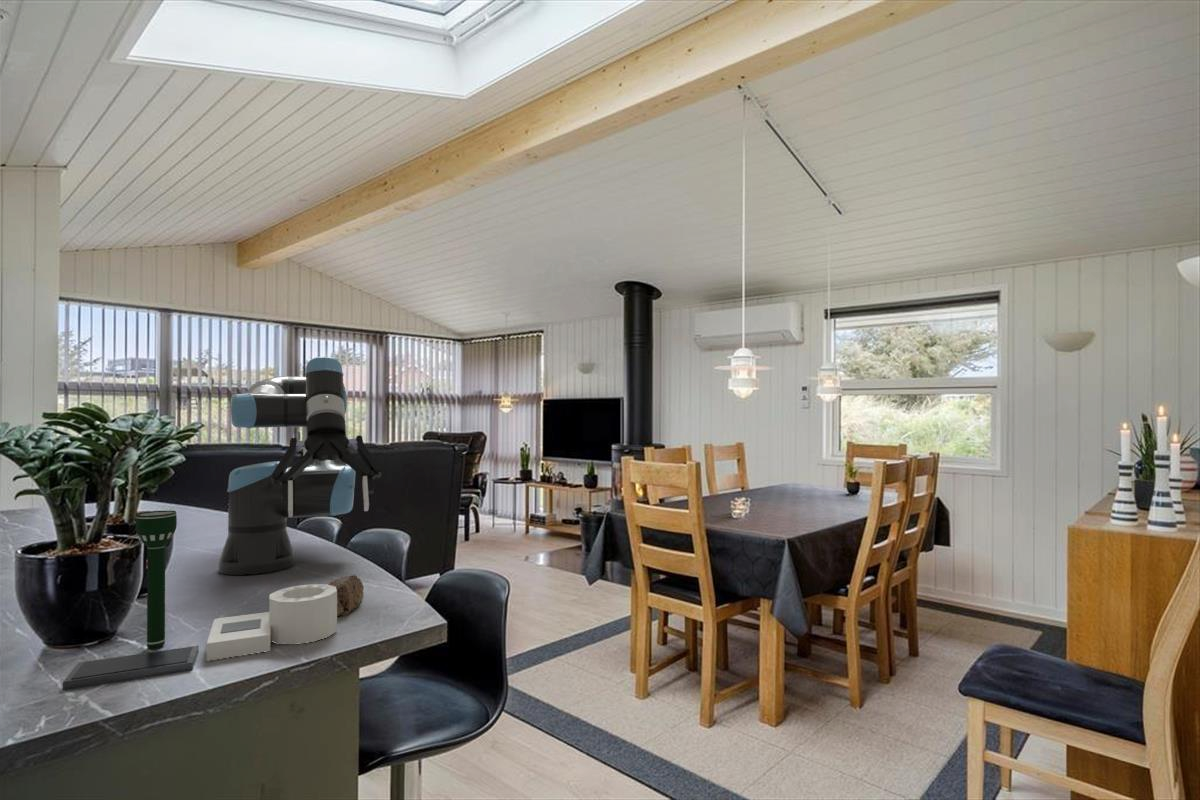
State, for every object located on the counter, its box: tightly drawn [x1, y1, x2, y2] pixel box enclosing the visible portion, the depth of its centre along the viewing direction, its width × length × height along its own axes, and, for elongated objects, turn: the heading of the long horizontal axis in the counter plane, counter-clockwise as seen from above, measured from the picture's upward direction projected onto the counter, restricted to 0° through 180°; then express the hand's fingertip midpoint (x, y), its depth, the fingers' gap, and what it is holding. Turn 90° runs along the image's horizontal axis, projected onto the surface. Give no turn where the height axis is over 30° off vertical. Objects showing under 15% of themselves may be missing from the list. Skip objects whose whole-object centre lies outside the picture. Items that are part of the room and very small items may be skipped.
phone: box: [62, 644, 200, 691], centre depth 88 cm, size 7×14×1 cm, turn 116°
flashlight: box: [135, 509, 178, 650], centre depth 97 cm, size 5×5×20 cm
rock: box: [327, 574, 365, 617], centre depth 116 cm, size 15×10×6 cm
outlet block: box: [206, 583, 338, 662], centre depth 100 cm, size 12×17×6 cm
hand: (329, 511), depth 125 cm, fingers open, 13 cm apart
